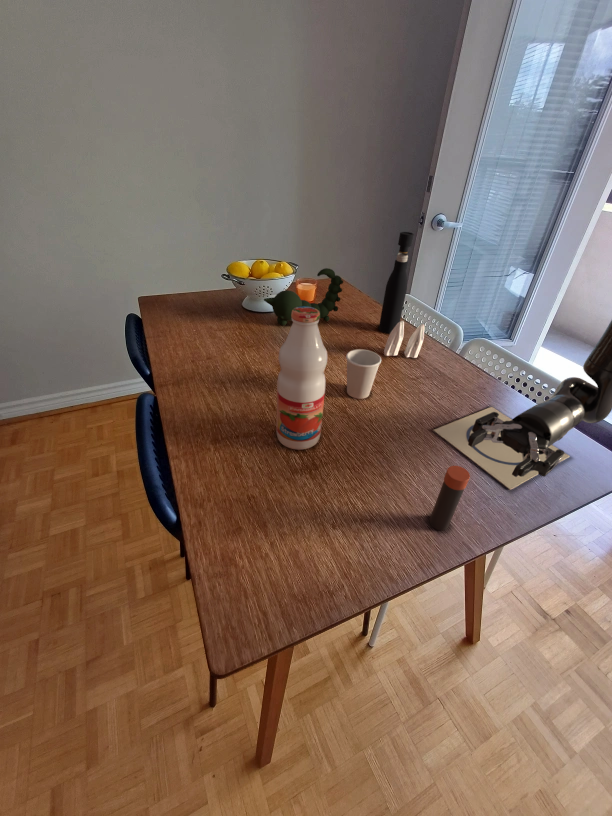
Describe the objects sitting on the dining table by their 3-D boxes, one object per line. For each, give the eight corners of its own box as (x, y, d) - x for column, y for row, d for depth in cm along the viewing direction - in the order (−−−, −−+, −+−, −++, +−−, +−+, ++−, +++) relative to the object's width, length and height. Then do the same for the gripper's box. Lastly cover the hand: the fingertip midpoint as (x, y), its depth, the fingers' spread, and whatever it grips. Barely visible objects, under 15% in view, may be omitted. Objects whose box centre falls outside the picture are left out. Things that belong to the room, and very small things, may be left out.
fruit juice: (315, 421, 89) (326, 300, 73) (324, 449, 82) (339, 321, 65) (273, 424, 87) (275, 301, 71) (279, 452, 80) (282, 323, 64)
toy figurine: (328, 319, 140) (258, 318, 131) (338, 265, 129) (263, 259, 121) (338, 331, 132) (264, 330, 124) (349, 274, 122) (270, 269, 114)
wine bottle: (399, 334, 129) (420, 236, 112) (380, 333, 129) (397, 235, 111) (396, 326, 134) (415, 231, 117) (377, 325, 134) (393, 230, 117)
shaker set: (383, 361, 114) (390, 325, 107) (378, 354, 117) (385, 318, 111) (422, 358, 116) (431, 323, 110) (415, 351, 120) (424, 317, 113)
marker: (453, 526, 68) (474, 476, 61) (439, 534, 66) (459, 484, 59) (438, 512, 70) (457, 462, 63) (424, 519, 68) (442, 469, 61)
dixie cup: (373, 404, 96) (380, 368, 90) (339, 398, 97) (344, 362, 91) (375, 386, 103) (382, 351, 97) (343, 381, 104) (348, 346, 98)
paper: (569, 456, 84) (570, 455, 84) (510, 490, 75) (510, 489, 75) (491, 407, 98) (491, 406, 98) (433, 430, 89) (433, 429, 89)
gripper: (514, 390, 77) (463, 417, 69) (590, 430, 68) (541, 465, 60) (501, 421, 82) (451, 449, 74) (570, 461, 73) (523, 499, 65)
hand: (492, 456), depth 67 cm, fingers open, 8 cm apart
